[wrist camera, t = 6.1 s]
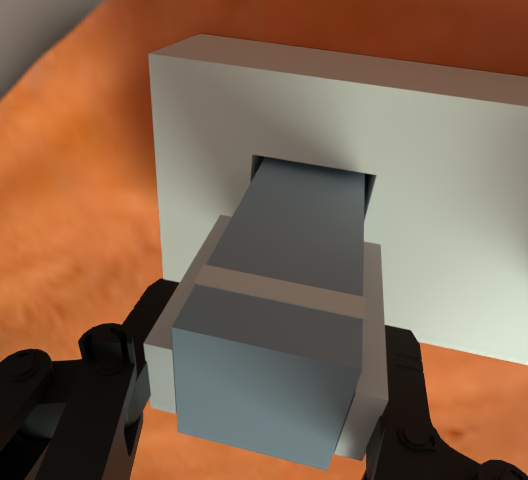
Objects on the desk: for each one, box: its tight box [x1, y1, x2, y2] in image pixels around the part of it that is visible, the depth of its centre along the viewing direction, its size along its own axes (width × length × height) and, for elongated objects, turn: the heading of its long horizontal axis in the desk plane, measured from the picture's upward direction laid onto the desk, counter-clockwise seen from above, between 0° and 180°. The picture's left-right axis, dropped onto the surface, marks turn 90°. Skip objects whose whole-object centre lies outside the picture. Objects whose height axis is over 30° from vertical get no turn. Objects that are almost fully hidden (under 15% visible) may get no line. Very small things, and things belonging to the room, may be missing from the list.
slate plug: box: [172, 157, 365, 471], centre depth 16 cm, size 4×4×14 cm
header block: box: [148, 34, 528, 365], centre depth 20 cm, size 28×12×6 cm, turn 85°
